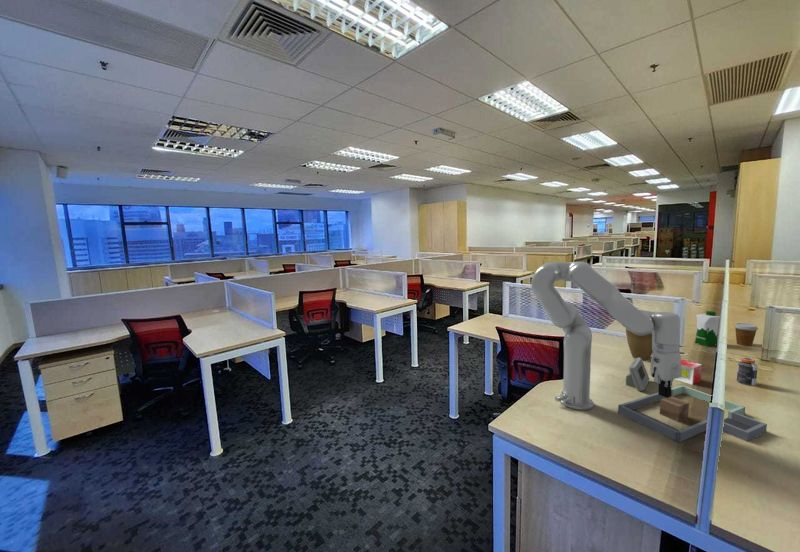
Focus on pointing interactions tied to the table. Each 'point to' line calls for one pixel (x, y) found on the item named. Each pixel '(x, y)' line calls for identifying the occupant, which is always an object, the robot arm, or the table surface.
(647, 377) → the digital clock
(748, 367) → the pill bottle
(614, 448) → the table surface
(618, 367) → the table surface
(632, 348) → the plant pot
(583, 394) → the robot arm
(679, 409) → the walnut block
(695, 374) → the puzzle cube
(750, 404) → the table surface
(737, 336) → the disposable coffee cup
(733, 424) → the box
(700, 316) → the milk carton
